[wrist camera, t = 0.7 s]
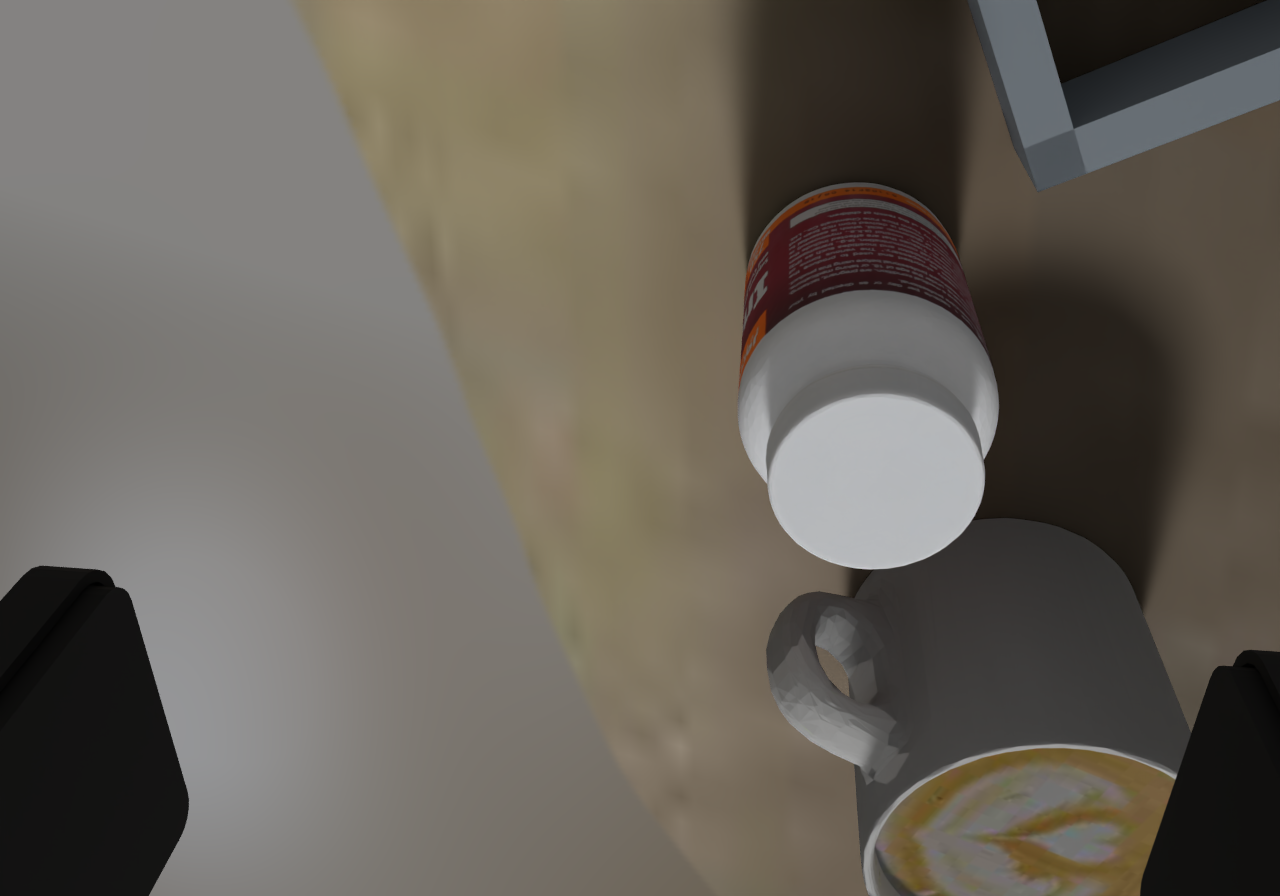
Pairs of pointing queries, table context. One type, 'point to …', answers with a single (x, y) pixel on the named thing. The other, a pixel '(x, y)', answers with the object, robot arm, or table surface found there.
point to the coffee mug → (991, 715)
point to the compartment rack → (1123, 87)
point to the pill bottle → (865, 377)
